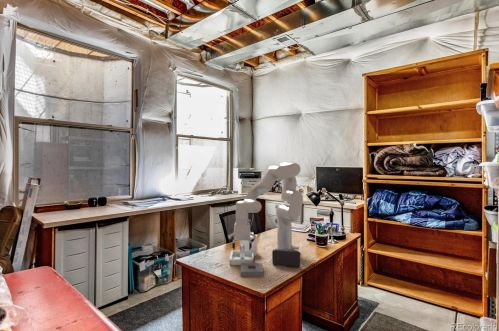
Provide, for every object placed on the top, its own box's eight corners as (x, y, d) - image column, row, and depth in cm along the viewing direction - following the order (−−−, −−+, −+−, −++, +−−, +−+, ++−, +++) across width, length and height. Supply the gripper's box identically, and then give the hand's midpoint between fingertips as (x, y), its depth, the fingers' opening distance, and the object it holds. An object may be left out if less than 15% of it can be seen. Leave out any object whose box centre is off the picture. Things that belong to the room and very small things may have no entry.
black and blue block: (300, 265, 164) (300, 249, 164) (300, 268, 160) (300, 251, 160) (273, 262, 168) (273, 247, 168) (272, 265, 163) (272, 249, 163)
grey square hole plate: (262, 268, 160) (262, 263, 160) (263, 277, 148) (263, 271, 148) (241, 268, 160) (241, 262, 160) (240, 277, 148) (240, 271, 148)
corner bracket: (255, 255, 180) (255, 237, 180) (238, 254, 183) (238, 236, 182) (258, 250, 191) (258, 232, 190) (242, 249, 193) (242, 232, 193)
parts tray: (253, 256, 179) (253, 250, 179) (253, 266, 163) (253, 259, 163) (231, 256, 179) (231, 250, 179) (229, 266, 163) (229, 259, 163)
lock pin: (244, 258, 172) (244, 244, 172) (244, 260, 169) (244, 245, 169) (239, 258, 172) (239, 244, 172) (239, 260, 169) (239, 245, 169)
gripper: (256, 220, 174) (256, 247, 174) (228, 220, 174) (228, 247, 174) (256, 222, 166) (256, 251, 167) (227, 222, 166) (227, 251, 167)
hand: (242, 249), depth 171 cm, fingers open, 9 cm apart
